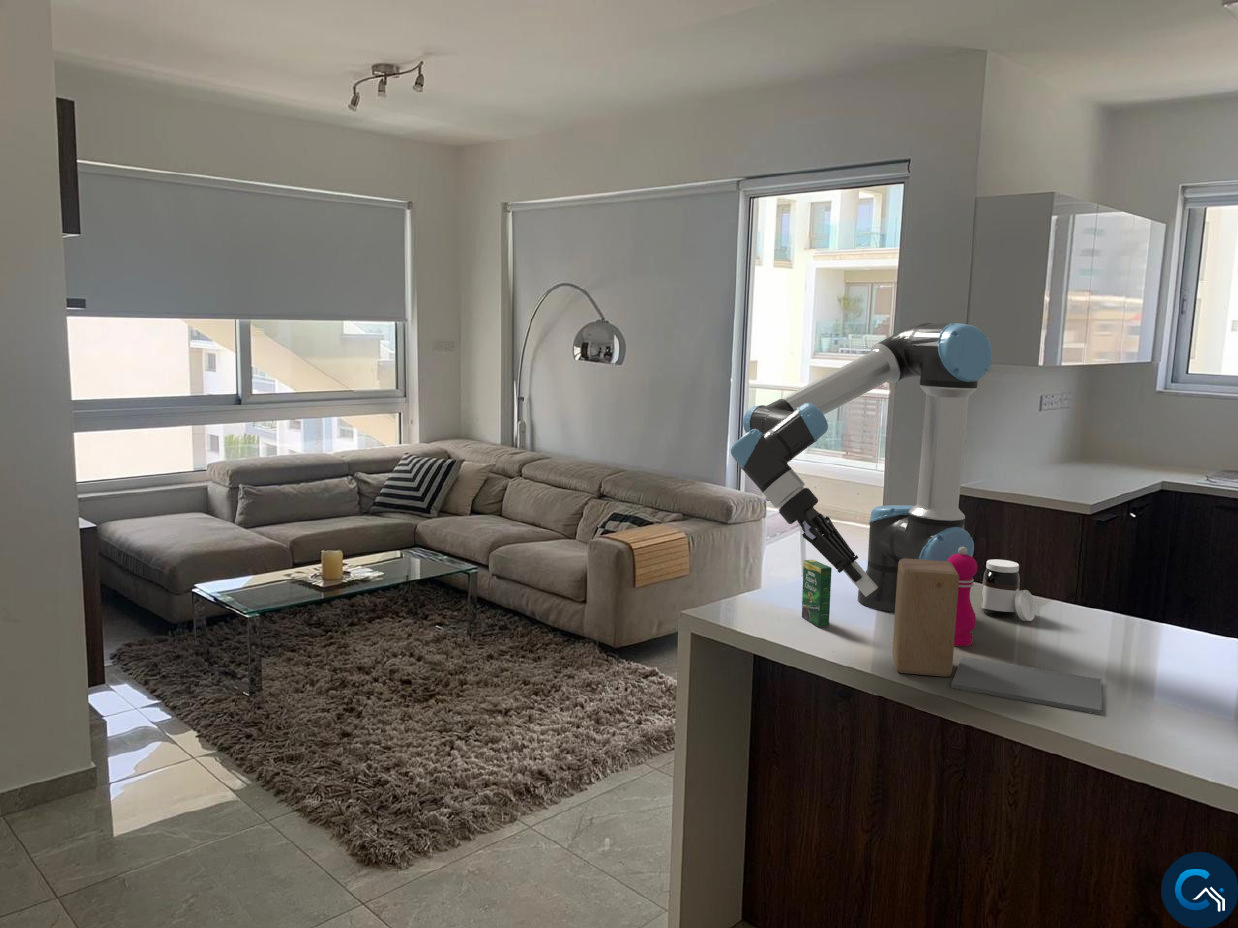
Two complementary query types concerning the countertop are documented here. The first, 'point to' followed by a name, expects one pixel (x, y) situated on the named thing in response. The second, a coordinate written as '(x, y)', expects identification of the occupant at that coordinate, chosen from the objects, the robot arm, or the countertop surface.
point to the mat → (1029, 684)
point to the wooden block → (925, 617)
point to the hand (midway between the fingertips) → (871, 591)
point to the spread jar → (1005, 592)
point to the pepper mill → (964, 597)
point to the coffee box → (816, 592)
